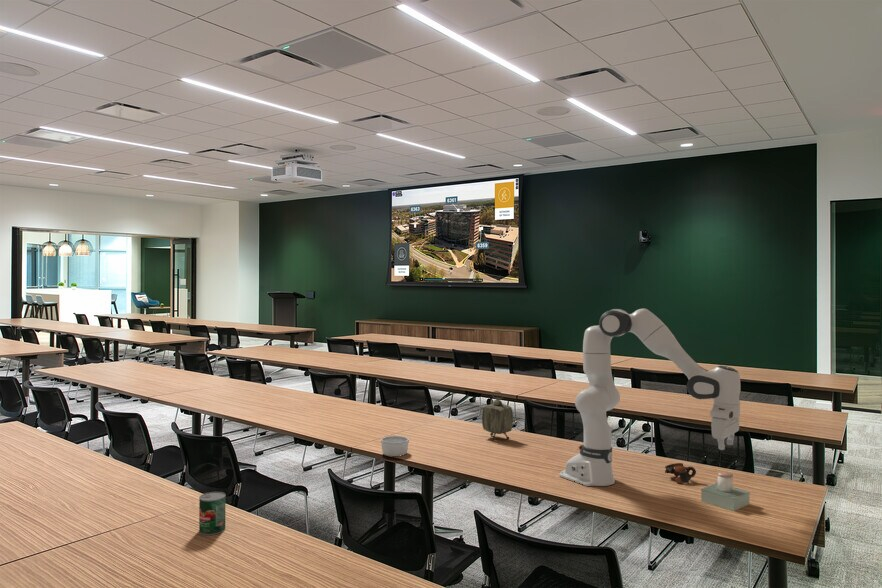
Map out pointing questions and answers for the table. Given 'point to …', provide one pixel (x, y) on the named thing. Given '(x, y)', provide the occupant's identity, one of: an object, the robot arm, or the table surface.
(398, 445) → the ramekin
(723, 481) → the pink capped tube
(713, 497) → the sage box
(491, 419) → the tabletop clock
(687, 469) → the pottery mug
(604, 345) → the robot arm
